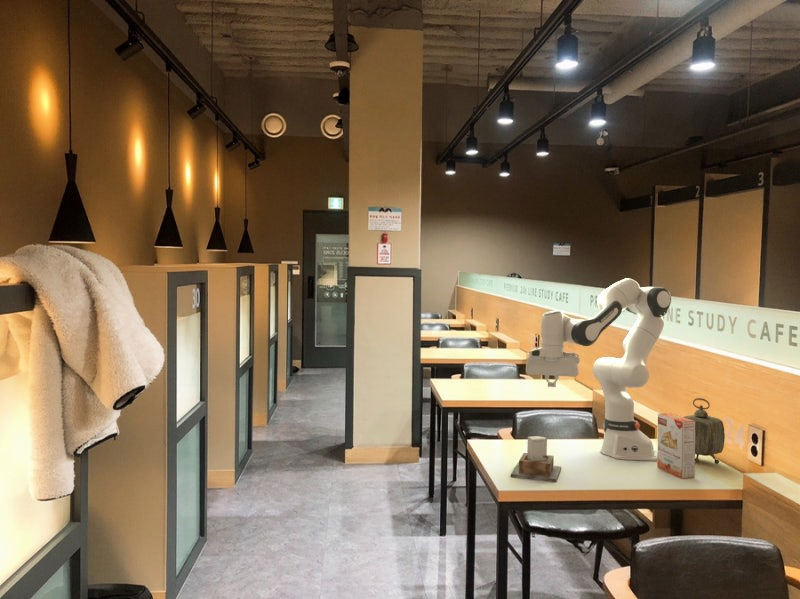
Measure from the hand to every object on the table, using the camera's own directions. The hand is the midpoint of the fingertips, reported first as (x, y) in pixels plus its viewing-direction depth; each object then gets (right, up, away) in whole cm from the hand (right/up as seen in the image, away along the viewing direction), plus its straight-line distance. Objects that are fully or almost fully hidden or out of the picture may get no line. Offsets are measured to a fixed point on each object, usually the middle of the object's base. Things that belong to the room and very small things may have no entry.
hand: (551, 386), depth 242 cm
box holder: (-10, -30, -16) cm, 35 cm away
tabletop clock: (+58, -30, -1) cm, 65 cm away
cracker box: (+42, -30, -15) cm, 54 cm away
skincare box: (-9, -29, -16) cm, 34 cm away
